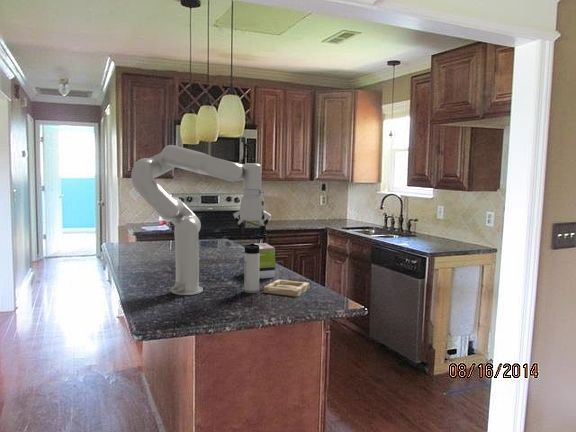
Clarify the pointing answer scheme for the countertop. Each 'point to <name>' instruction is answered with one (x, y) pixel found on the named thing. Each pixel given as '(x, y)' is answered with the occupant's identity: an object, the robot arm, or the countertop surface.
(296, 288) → the holder base
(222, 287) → the countertop surface
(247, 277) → the travel mug
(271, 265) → the tea box
